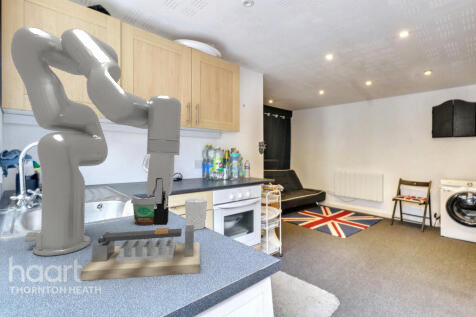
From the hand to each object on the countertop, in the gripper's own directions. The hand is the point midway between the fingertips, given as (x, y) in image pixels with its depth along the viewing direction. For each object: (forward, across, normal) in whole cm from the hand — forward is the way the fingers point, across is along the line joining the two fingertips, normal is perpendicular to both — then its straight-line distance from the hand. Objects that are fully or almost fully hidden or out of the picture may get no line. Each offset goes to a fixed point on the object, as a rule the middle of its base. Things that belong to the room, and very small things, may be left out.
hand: (160, 223), depth 56 cm
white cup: (+10, -27, +9) cm, 30 cm away
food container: (+10, -33, -9) cm, 35 cm away
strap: (+3, 0, -4) cm, 5 cm away
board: (+9, 0, -2) cm, 10 cm away
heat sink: (+7, 0, -3) cm, 8 cm away
